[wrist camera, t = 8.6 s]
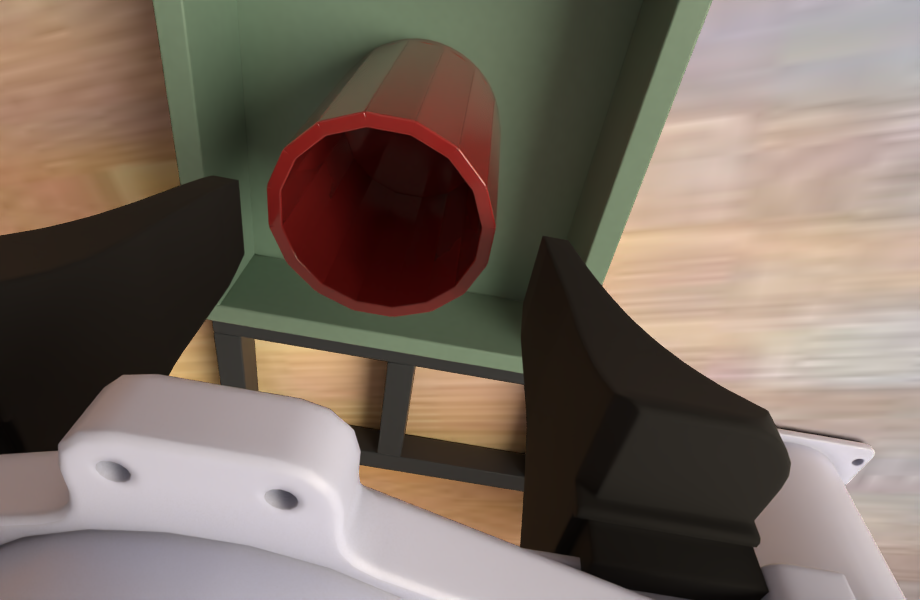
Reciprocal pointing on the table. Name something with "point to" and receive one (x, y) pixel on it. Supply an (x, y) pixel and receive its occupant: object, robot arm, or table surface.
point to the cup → (392, 182)
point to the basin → (521, 147)
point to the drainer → (386, 409)
